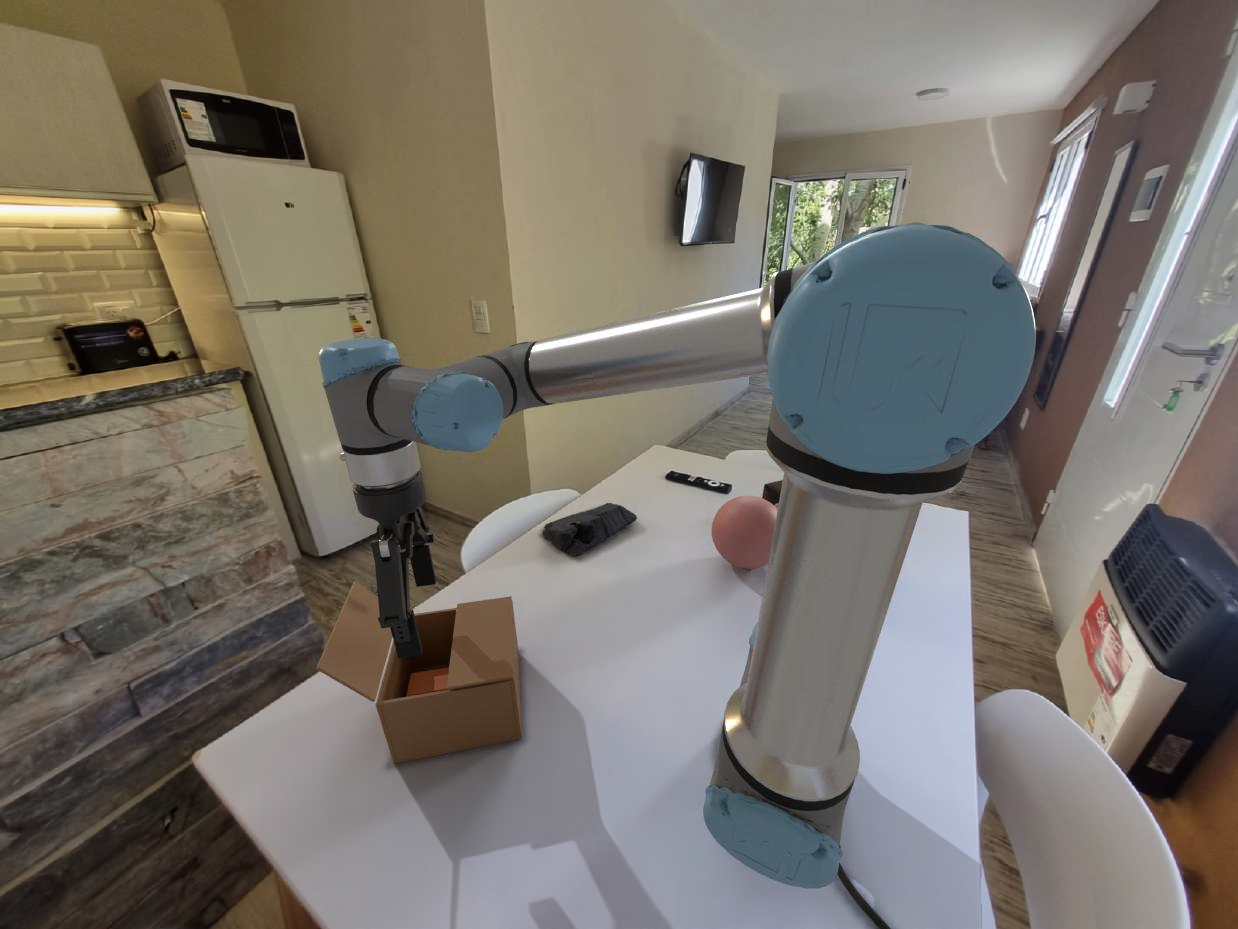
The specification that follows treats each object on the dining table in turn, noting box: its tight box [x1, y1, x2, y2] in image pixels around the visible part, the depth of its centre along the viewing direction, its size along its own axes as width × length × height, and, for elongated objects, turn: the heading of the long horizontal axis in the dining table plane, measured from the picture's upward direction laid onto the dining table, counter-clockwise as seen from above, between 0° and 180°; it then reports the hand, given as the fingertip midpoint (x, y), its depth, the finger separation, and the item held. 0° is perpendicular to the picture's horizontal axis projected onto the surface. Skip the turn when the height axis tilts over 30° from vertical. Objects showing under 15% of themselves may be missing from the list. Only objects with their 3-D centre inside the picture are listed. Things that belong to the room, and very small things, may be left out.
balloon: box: [711, 495, 779, 570], centre depth 103 cm, size 15×20×15 cm
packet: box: [406, 667, 449, 697], centre depth 71 cm, size 4×7×5 cm, turn 102°
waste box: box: [375, 596, 523, 764], centre depth 71 cm, size 16×17×12 cm
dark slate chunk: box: [541, 502, 638, 557], centre depth 115 cm, size 15×22×5 cm
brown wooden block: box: [761, 479, 783, 506], centre depth 127 cm, size 8×19×7 cm, turn 114°
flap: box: [315, 580, 393, 703], centre depth 64 cm, size 16×8×1 cm
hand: (419, 616), depth 65 cm, fingers open, 13 cm apart
